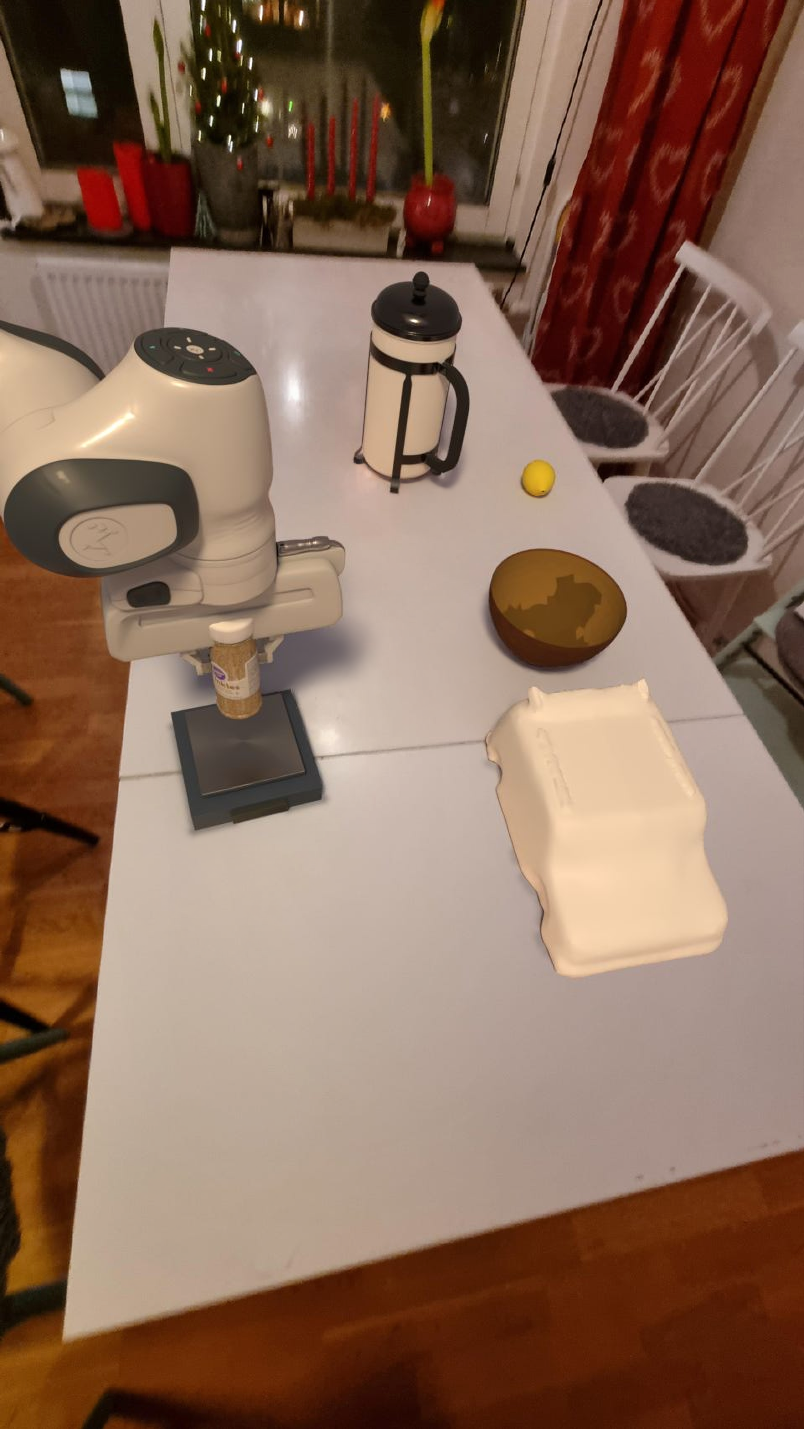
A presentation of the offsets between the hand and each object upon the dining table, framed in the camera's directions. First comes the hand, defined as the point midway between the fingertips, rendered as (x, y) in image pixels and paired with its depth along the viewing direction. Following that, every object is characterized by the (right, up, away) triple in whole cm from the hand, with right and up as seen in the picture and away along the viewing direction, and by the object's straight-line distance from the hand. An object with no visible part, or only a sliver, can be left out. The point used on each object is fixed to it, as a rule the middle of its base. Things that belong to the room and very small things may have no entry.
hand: (233, 664), depth 66 cm
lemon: (+38, +33, +51) cm, 72 cm away
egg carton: (+37, -19, +14) cm, 44 cm away
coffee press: (+16, +36, +51) cm, 64 cm away
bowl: (+35, +4, +30) cm, 46 cm away
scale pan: (-2, -9, +12) cm, 15 cm away
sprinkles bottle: (0, -4, +4) cm, 6 cm away
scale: (-2, -10, +14) cm, 18 cm away
